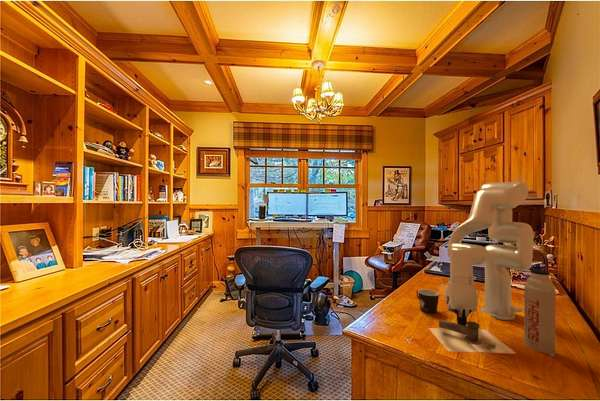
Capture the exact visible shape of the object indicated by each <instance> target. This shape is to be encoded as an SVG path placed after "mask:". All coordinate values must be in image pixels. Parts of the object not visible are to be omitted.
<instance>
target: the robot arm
mask: <svg viewBox="0 0 600 401" xmlns="http://www.w3.org/2000/svg"><path fill="white" fill-rule="evenodd" d="M528 195H529V187H528V185H527V184H526V183H525V182H523V181H505V182H504V181H503V182H487V183H484V184H482V185H481V186H480V187H479V190H478V191H477V192H476V193H475V194H474V198H473V201H472V205H471V209H470V211H469V214H468V218H467V220H465V221H463V222H462V223H461V224H459V226H457V227H455V229H454V230H453V231H452V233H451V234H450V237H449V240H448V243H447V246H446V247H447V249H446V250H447V251H446V253H447V256H448V258H449V272H450V273H449V275H450V276H449V279H450V280H448V281H447V284H446V290H445V304H446V305H447V306H446V310H447V311H448V312H451V313H454V314H455V315H456V324H460V325H464V326H467V322H468V317H469V315H470V314H472V313H474V312H477V311H478V310H477V309H478V294H477V289H476V285H475V283H474V280H477V276H476V275H474V266H476V265H477V266H478V265H480V266H481V265H484V306H482V307H481V308H480V312H481V313H482V312H483V313H486V314H488V315H490V317H492V318H494V319H496V320H500V321H513V320H515V319H516V315H515V313H516V312H517V313H522V312H523V311H524V309H523V308H522V307H517V306H516V307H515V305H512V278H511V273H509V271H508V269H511V270H517V271H529V270H531V268H532V265H533V257H534V230H533V228H532V225H530V224H528V223H526V222H521V221H519V222H516V221H513V210H512V209H515V208H516V207H518V206H519V205H520V204H522V203H523V202H524V201H525V200H526V199H527V197H528ZM486 229H488V231H487V232H488V234H487V236H488V238H489V239H490V240H491V241H493V242H497V243H505V244H514V245H516V246H517V247H516V246H510V245H500V244H487V245H486V246H482V245H480V244H479V245H478V244H471V243H465V242H464V243H463V242H462V241H463V239H464V238H465V237H467V236H468V235H471V234H474V233H476V232H479V231H482V230H486ZM473 265H474V266H473Z"/></svg>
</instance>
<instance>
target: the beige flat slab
mask: <svg viewBox="0 0 600 401" xmlns="http://www.w3.org/2000/svg"><path fill="white" fill-rule="evenodd" d="M428 330H429V331H430V332H431V333H432V334H433V335H434V336H435V337H436V339H437V340H438V341H439V342H440V343H441V345H442V346H443V347H444V348H445V350H447V352H448V353H449V352H453V353H454V352H455V353H482V354H484V353H485V354H489V353H490V354H508V355H509V354H510V355H511V354H516V355H517V352H516V351H514V350H513V349H512V348H510V347H509V346H508V345H507V344H505V343H504V342H502V341H501V339H499V338H497V336H495V335H493V334H492V333H491V332H490V331H489V330H487V329H480V328H478V338H481V339H485V340H488V341H492V342H495V343H496V344H495V345H493V344H489V343H486V342H483V341H479V340H478V341H472V340H470V339H468V335H465V334H462V333H458V332H455V331H451V330H448V329H444V328H441V327H438V328H437V327H435V328H434V327H433V328H432V327H428Z"/></svg>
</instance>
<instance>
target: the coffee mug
mask: <svg viewBox="0 0 600 401" xmlns="http://www.w3.org/2000/svg"><path fill="white" fill-rule="evenodd" d="M416 296H417V299H418V300H419V308H420V311H421V312H422V313H424V314H427V315H436V314H437V313H438V307H439V306H438V304H439V298H440V293H439V292H438V291H436V290H433V289H428V288H421V289H418V290H416Z"/></svg>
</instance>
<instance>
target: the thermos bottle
mask: <svg viewBox="0 0 600 401" xmlns="http://www.w3.org/2000/svg"><path fill="white" fill-rule="evenodd" d="M529 270H530V277H527V278H526V283H525V284H524V293H523V294H524V299H523V300H524V301H523V302H524V307H523V308H524V309H523V311H524V312H523V314H524V320H523V321H524V322H523V324H524V325H523V327H524V328H523V331H524V332H523V343H524V345H525V346H526V347H528V348H529V349H531V350H533V351H537V352H539V353H544V354H546V355H549V357H552V358H554V357H555V356H556V288H555V287H553V286H554V284H553V281H551V280H550V272H549V271H548V270H545V269H537V268H530V269H529Z"/></svg>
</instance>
